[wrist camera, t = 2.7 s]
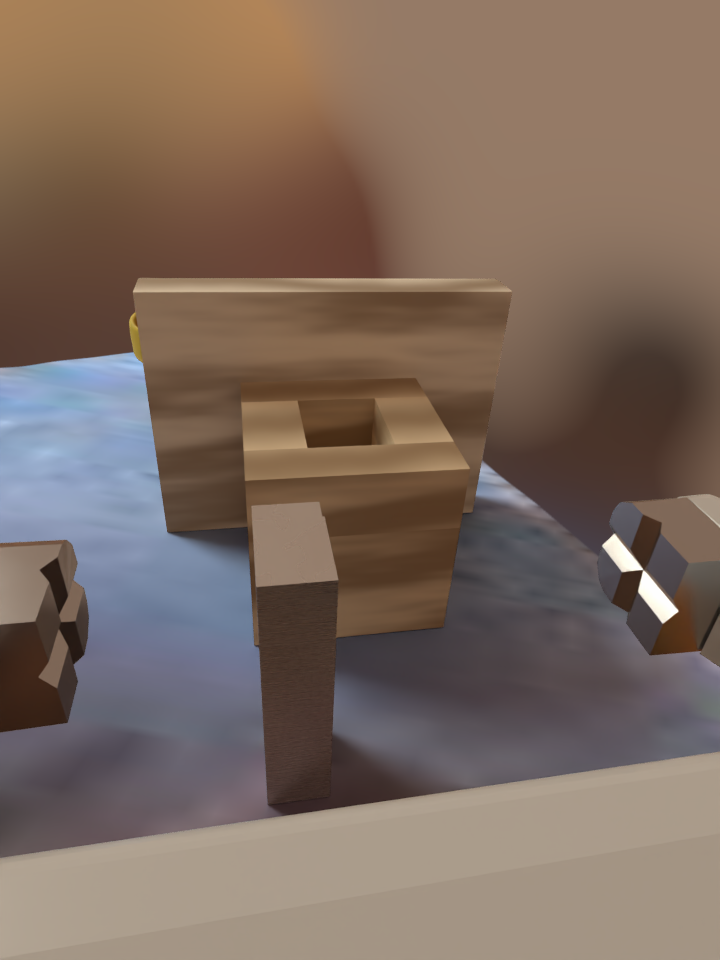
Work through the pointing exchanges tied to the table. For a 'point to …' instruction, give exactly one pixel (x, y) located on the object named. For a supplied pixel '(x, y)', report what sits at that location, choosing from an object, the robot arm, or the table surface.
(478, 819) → the robot arm
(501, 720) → the table surface
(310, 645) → the grey brown tall block
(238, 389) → the tan blocky piece
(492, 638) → the table surface
